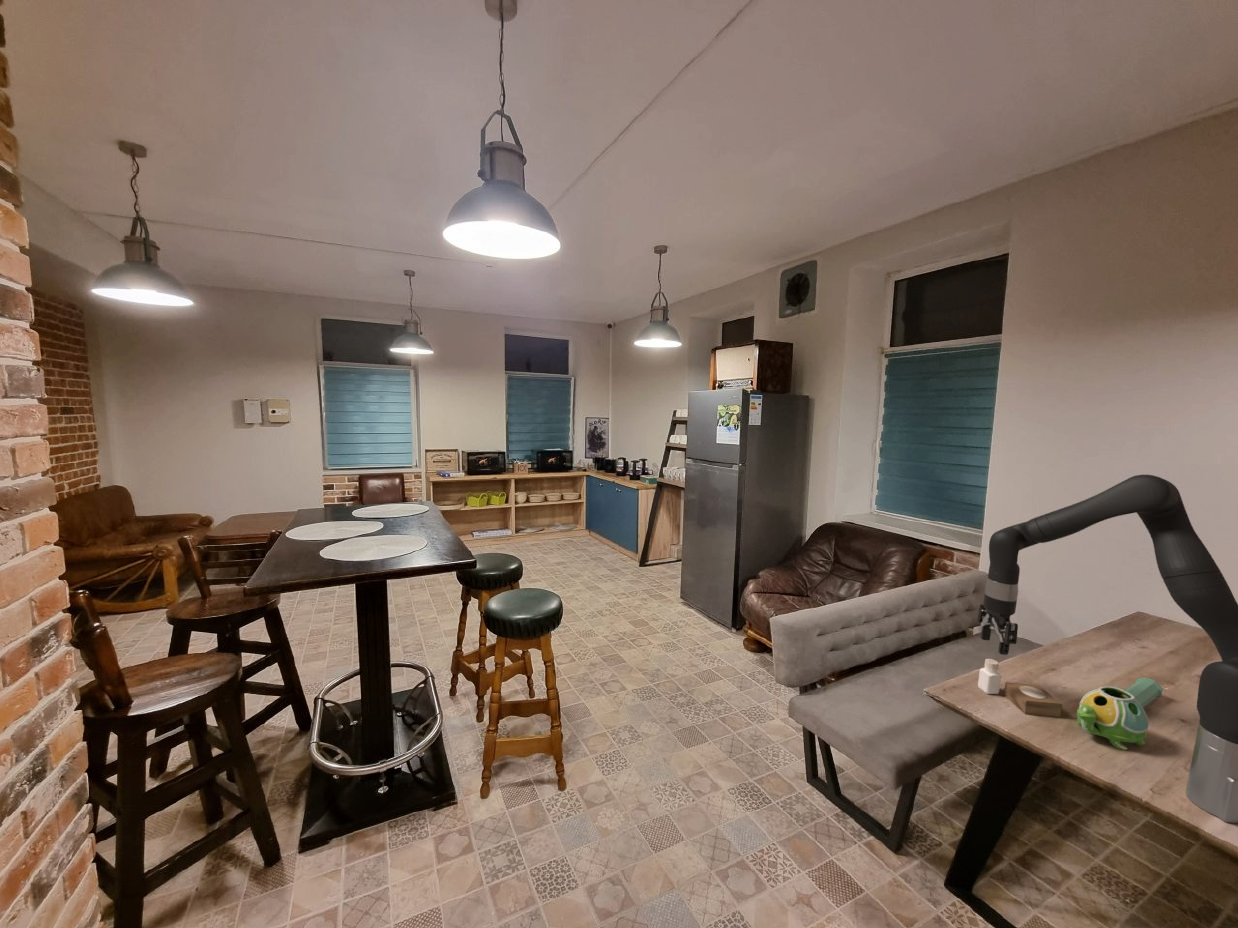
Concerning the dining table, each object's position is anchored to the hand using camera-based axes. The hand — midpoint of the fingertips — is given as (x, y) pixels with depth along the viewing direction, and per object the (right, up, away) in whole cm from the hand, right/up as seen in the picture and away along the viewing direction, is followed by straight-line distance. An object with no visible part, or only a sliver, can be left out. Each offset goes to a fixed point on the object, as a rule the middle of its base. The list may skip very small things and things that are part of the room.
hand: (993, 646), depth 146 cm
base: (+7, -15, -5) cm, 17 cm away
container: (+36, -16, -5) cm, 40 cm away
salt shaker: (0, -14, +2) cm, 14 cm away
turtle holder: (+16, -17, -17) cm, 29 cm away
